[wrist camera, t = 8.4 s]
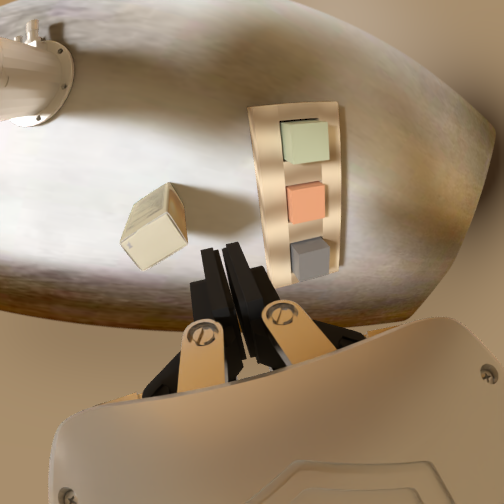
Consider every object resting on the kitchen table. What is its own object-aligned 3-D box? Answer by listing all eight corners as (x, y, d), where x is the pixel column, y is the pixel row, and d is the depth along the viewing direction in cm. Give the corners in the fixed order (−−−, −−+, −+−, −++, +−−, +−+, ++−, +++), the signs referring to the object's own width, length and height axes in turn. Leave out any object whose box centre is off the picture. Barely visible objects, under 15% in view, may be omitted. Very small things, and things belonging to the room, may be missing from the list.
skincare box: (149, 227, 38) (140, 275, 28) (132, 203, 36) (115, 244, 26) (186, 205, 38) (190, 245, 28) (171, 179, 36) (167, 211, 25)
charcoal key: (289, 242, 42) (298, 254, 39) (318, 235, 43) (329, 246, 40) (291, 268, 45) (299, 282, 42) (318, 261, 46) (328, 274, 43)
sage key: (279, 122, 33) (290, 124, 30) (314, 119, 34) (327, 121, 31) (283, 158, 36) (293, 164, 32) (316, 154, 36) (329, 159, 33)
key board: (247, 107, 33) (252, 107, 31) (327, 101, 35) (338, 101, 32) (267, 278, 48) (273, 289, 45) (330, 262, 49) (338, 271, 47)
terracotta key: (281, 183, 39) (291, 190, 36) (312, 177, 40) (324, 185, 37) (284, 214, 42) (293, 224, 39) (314, 208, 42) (325, 217, 39)
